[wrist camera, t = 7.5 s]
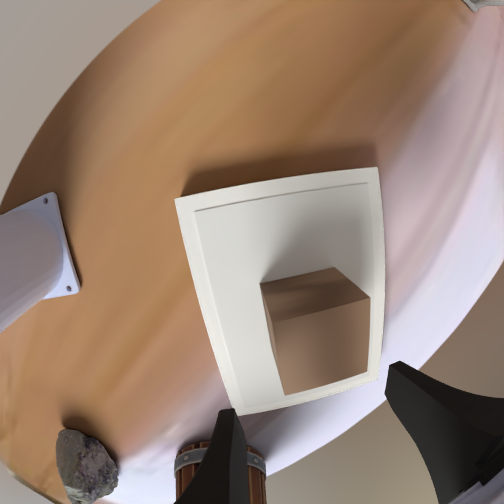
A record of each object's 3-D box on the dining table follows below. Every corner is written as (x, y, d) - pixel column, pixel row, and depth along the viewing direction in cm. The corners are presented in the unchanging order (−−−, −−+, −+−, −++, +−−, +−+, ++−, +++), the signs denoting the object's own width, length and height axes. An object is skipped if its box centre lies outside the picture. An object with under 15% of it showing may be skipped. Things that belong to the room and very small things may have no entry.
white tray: (234, 400, 22) (235, 417, 20) (180, 196, 17) (174, 199, 15) (368, 367, 23) (378, 380, 20) (363, 167, 18) (378, 166, 16)
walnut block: (271, 347, 18) (284, 395, 13) (259, 283, 17) (272, 322, 12) (338, 330, 18) (367, 371, 14) (334, 266, 17) (370, 297, 12)
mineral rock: (113, 480, 26) (102, 526, 16) (54, 447, 24) (34, 491, 14) (141, 459, 24) (129, 521, 14) (65, 417, 22) (38, 475, 12)
